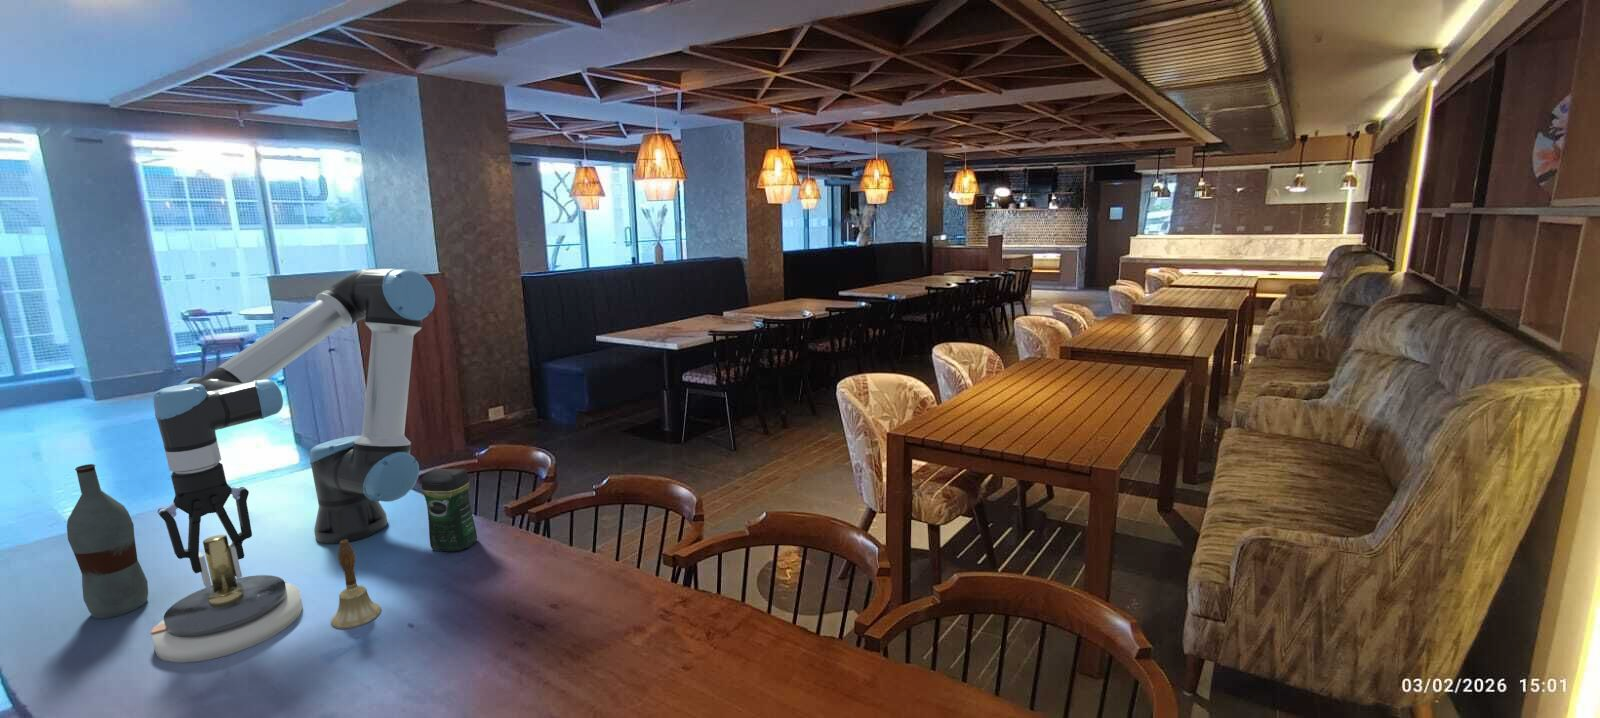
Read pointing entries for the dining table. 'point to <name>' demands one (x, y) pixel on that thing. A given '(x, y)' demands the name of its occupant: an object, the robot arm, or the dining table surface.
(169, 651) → the wheel base
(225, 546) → the handwheel
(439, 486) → the coffee jar
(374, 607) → the hand bell
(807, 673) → the dining table surface
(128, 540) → the bottle
